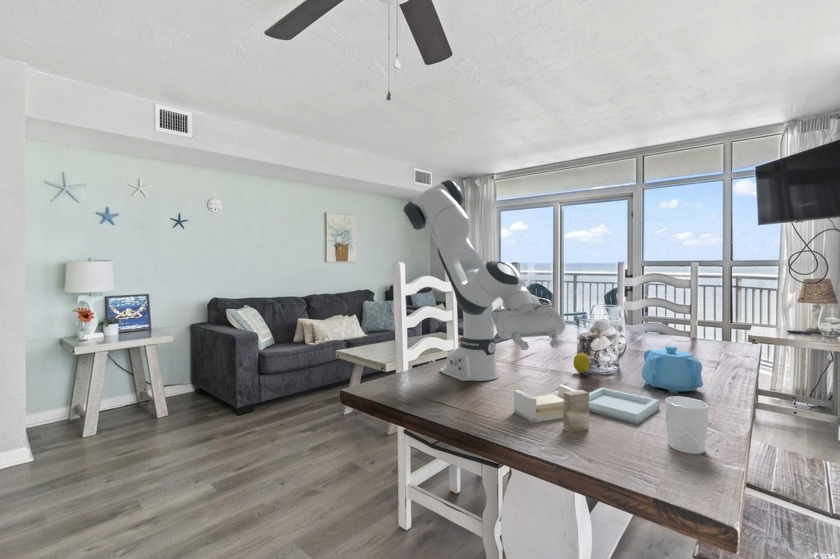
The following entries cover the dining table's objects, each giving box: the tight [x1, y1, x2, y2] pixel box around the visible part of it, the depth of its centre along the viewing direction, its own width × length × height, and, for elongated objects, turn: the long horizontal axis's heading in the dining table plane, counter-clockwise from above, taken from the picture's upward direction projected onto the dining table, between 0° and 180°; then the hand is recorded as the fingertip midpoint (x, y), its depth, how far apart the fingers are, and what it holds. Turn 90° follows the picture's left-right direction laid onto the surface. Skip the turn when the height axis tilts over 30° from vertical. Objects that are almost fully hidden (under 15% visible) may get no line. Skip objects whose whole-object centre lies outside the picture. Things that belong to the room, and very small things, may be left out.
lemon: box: [573, 351, 590, 374], centre depth 148 cm, size 6×6×8 cm
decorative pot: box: [641, 345, 704, 394], centre depth 130 cm, size 16×16×14 cm
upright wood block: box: [562, 389, 590, 434], centre depth 98 cm, size 2×6×9 cm, turn 109°
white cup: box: [664, 395, 710, 455], centre depth 87 cm, size 8×8×10 cm
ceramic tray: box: [588, 386, 660, 425], centre depth 112 cm, size 16×16×2 cm
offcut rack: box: [513, 384, 577, 424], centre depth 108 cm, size 8×16×6 cm, turn 109°
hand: (540, 347), depth 108 cm, fingers open, 8 cm apart
